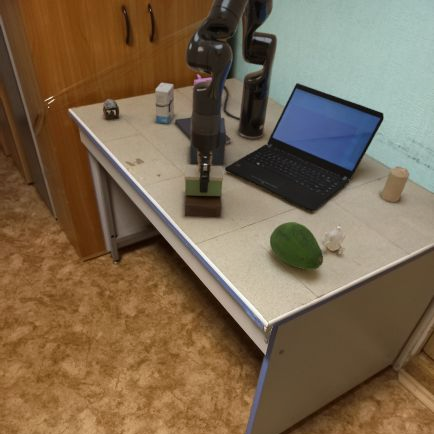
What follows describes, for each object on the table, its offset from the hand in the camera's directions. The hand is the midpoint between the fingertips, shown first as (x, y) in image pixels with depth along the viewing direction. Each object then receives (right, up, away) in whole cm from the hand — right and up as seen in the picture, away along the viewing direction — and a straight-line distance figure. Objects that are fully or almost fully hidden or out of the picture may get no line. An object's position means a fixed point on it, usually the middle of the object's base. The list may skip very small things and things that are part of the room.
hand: (203, 185), depth 118 cm
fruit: (+23, -22, -11) cm, 34 cm away
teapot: (-1, +47, +56) cm, 73 cm away
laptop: (+31, +10, +22) cm, 39 cm away
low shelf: (0, -5, +4) cm, 6 cm away
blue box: (0, +16, +25) cm, 30 cm away
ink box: (-16, +36, +43) cm, 59 cm away
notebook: (-2, +28, +37) cm, 46 cm away
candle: (+58, 0, +14) cm, 60 cm away
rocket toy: (+34, -19, -6) cm, 40 cm away
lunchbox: (0, -1, +1) cm, 2 cm away
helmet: (-36, +36, +41) cm, 65 cm away
